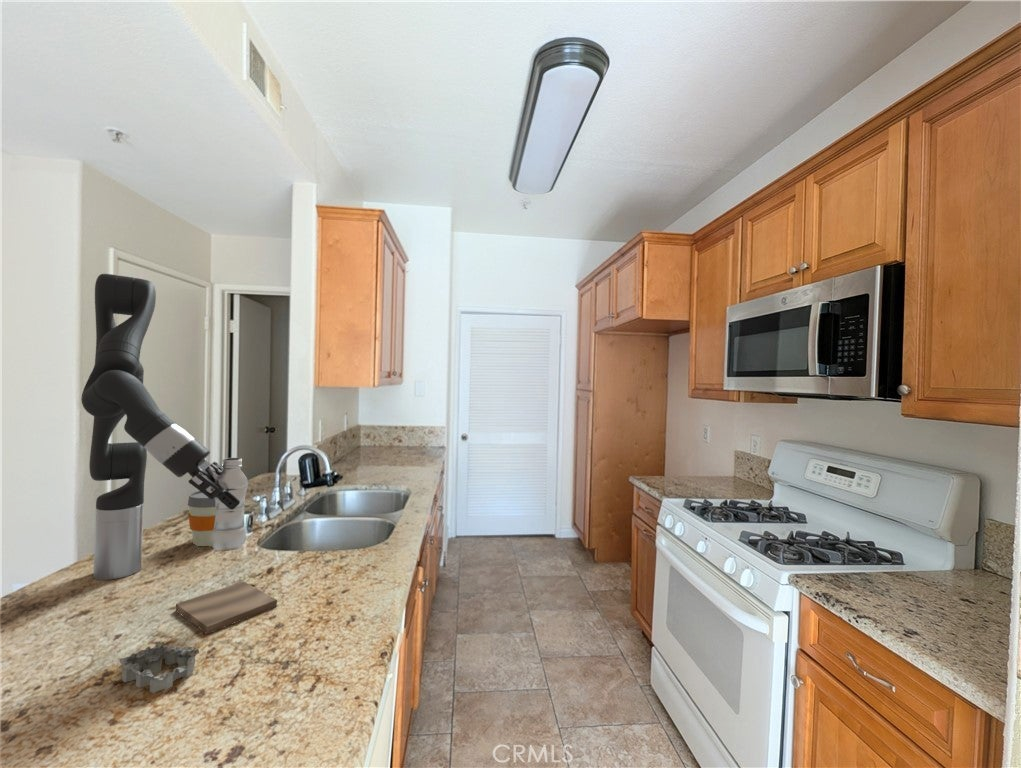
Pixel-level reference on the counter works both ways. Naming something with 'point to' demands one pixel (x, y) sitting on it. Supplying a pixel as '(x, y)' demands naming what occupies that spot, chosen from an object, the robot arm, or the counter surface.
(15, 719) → the counter surface
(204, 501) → the reusable coffee cup
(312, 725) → the counter surface
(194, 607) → the walnut board
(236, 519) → the plastic bottle
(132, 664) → the metal cookie cutter
